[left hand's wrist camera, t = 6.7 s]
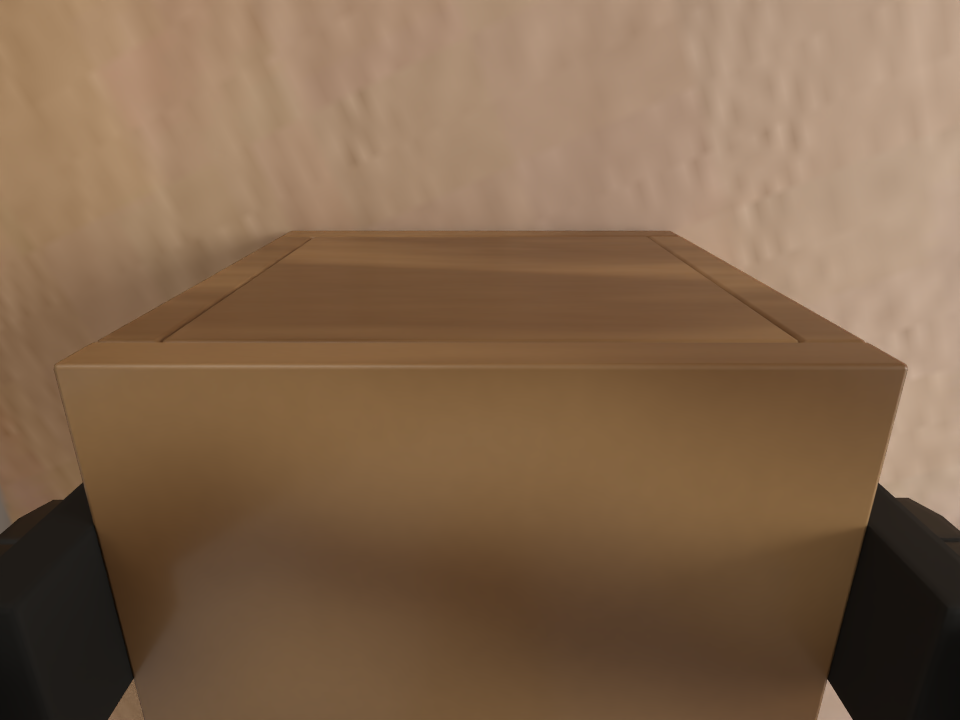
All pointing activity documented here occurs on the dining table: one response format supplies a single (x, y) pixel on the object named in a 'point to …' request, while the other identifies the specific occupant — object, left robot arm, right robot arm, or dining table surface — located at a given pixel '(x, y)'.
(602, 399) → the cabinet
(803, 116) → the dining table surface
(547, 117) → the dining table surface
